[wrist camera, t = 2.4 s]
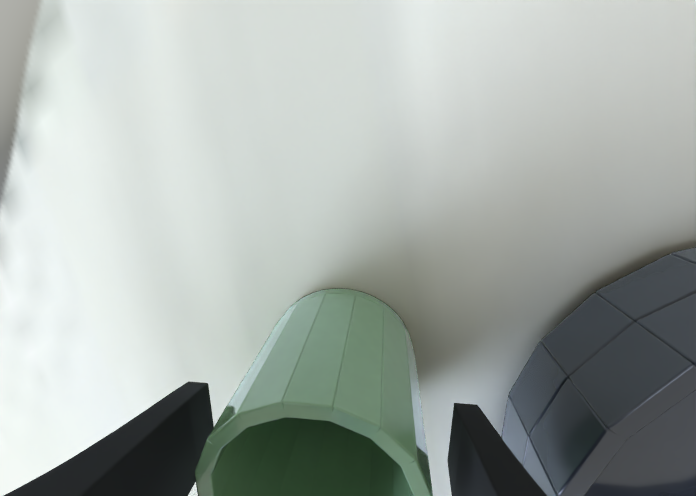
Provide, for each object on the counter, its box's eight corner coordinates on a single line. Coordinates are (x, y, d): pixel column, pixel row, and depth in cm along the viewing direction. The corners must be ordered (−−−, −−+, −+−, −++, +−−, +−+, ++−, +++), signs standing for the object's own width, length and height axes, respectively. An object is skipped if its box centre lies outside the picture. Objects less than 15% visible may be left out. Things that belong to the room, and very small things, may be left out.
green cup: (408, 415, 14) (423, 599, 9) (277, 404, 15) (208, 570, 9) (417, 291, 13) (442, 415, 7) (270, 284, 13) (181, 394, 7)
